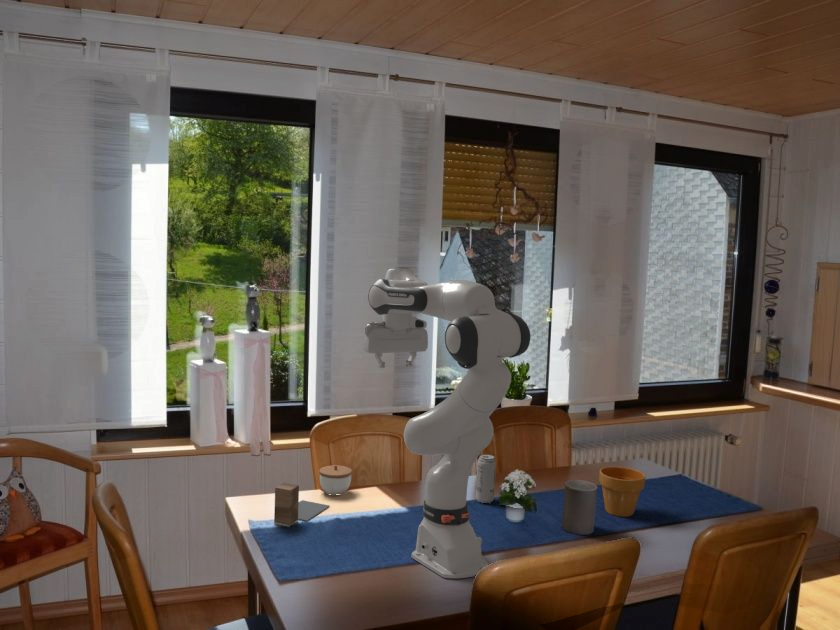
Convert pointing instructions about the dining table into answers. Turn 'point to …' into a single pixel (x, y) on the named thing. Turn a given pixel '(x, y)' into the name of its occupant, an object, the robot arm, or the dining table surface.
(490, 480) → the energy drink can
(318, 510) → the felt mat
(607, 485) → the flower pot
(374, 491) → the dining table surface
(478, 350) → the robot arm
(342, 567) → the dining table surface
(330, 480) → the lidded jar
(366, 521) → the dining table surface
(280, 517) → the walnut block
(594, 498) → the pillar candle
